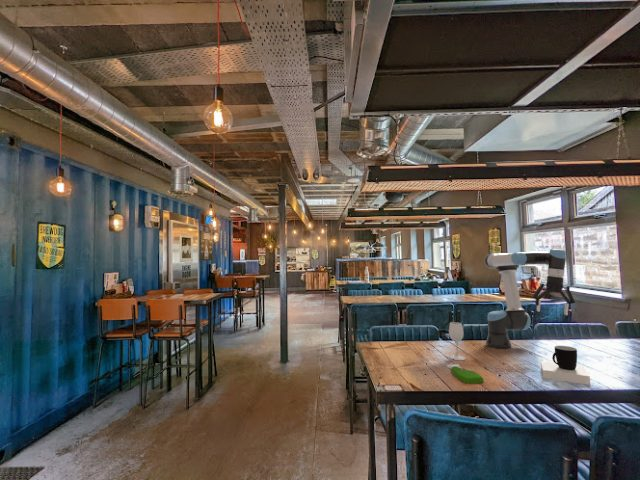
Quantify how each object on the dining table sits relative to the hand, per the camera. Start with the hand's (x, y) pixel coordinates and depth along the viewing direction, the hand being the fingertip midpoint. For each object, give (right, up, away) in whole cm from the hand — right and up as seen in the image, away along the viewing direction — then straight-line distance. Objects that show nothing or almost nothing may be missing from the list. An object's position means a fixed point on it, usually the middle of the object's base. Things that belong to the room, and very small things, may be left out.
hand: (551, 312), depth 181 cm
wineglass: (-50, -30, +10) cm, 59 cm away
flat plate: (-10, -27, -22) cm, 36 cm away
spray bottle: (-59, -29, -16) cm, 67 cm away
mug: (-10, -23, -22) cm, 33 cm away
